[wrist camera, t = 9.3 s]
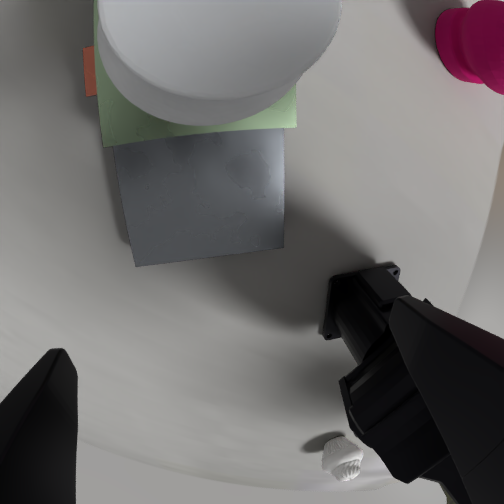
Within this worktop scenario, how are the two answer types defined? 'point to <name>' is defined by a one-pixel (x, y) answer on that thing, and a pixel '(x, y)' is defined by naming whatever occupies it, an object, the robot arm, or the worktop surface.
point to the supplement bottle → (211, 53)
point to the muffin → (342, 458)
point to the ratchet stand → (193, 175)
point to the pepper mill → (474, 43)
